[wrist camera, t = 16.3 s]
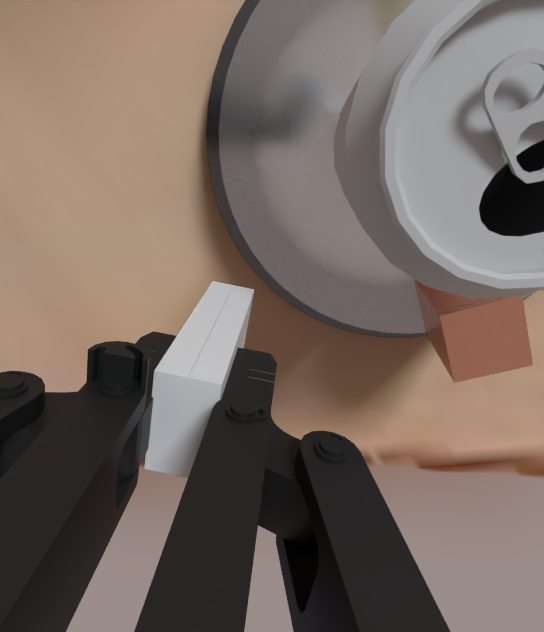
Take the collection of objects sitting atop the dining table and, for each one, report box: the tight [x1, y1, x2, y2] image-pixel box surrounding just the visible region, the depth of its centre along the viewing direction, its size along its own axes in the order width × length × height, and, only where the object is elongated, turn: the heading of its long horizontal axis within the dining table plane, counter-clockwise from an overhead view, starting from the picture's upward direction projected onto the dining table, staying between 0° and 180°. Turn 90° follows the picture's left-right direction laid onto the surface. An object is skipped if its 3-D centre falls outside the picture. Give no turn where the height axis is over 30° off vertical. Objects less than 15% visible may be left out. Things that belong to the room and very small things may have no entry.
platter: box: [219, 0, 533, 383], centre depth 18 cm, size 18×18×6 cm
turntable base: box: [206, 0, 534, 338], centre depth 22 cm, size 20×20×1 cm
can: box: [334, 0, 544, 298], centre depth 14 cm, size 8×8×12 cm
